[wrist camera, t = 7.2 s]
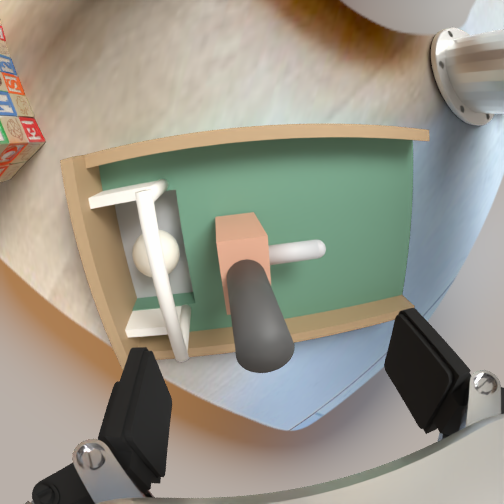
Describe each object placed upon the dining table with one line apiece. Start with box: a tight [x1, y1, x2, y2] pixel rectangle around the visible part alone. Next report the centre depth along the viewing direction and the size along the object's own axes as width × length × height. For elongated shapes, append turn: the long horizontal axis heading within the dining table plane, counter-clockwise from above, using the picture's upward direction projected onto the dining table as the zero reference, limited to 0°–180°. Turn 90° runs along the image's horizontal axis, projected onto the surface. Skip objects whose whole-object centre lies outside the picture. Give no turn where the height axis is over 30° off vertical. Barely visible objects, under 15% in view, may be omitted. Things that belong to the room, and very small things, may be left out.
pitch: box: [60, 124, 429, 370], centre depth 22 cm, size 28×18×9 cm, turn 95°
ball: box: [132, 230, 180, 277], centre depth 23 cm, size 4×4×4 cm
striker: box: [215, 212, 326, 373], centre depth 18 cm, size 8×5×13 cm, turn 95°
